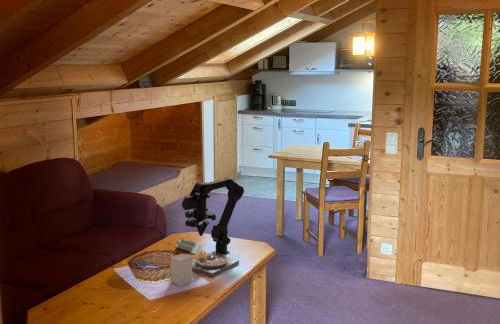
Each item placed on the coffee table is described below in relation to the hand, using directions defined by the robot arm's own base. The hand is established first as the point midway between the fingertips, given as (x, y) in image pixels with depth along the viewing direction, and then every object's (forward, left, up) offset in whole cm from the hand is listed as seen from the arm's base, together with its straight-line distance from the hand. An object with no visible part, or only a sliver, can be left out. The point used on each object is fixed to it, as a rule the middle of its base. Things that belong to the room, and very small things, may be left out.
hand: (200, 235), depth 280 cm
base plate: (+4, +11, -13) cm, 17 cm away
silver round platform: (+5, +11, -11) cm, 16 cm away
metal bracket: (-8, -16, -14) cm, 22 cm away
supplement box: (+29, +12, -13) cm, 34 cm away
